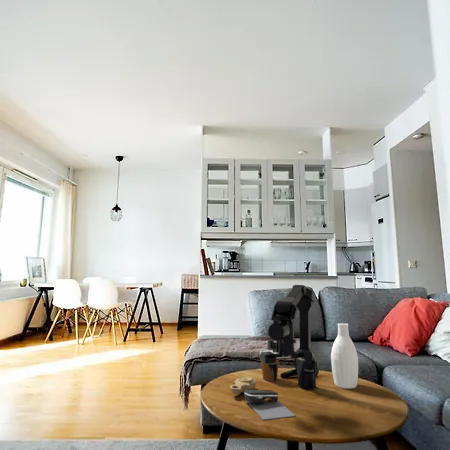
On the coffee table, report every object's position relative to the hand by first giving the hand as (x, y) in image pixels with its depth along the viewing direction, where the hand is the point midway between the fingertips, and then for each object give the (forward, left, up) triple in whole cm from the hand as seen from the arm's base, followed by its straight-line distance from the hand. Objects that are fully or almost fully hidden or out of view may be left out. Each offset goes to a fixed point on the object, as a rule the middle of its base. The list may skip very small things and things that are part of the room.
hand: (286, 381), depth 119 cm
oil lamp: (+10, -19, -9) cm, 23 cm away
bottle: (-35, -16, -9) cm, 39 cm away
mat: (+6, 0, -9) cm, 11 cm away
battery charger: (+2, -7, -8) cm, 10 cm away
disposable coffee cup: (-7, -32, -9) cm, 34 cm away
